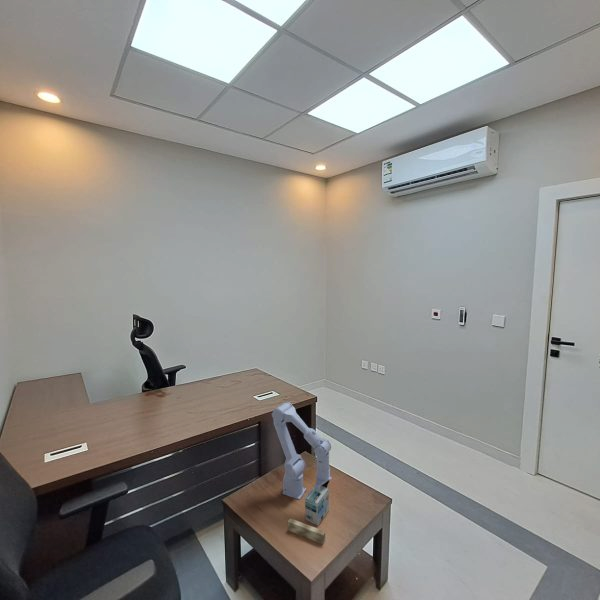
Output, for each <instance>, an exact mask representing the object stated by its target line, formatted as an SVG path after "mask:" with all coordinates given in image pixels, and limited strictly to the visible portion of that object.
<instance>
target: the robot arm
mask: <svg viewBox="0 0 600 600" xmlns="http://www.w3.org/2000/svg"><path fill="white" fill-rule="evenodd" d="M271 417H272V419H273V422H272V423H273V425H274V428H275V431H276V433H277V434H276V435H277V437H278V439H279V442H280V444H281V445H280V446H281V448H282V451H283V454H284V456H285V462H284V465H283V466H284V471H285V472H284V475H283V480H282V494H283V495H285V496H287V497H291V498H293V499H296V500H301V499H302V497H303V495H304V493H305V492H306V490H307V488H306V487H304V470H305V469H306V467H307V466H306V462H305V460H303V458H302V455H301V454H298V453H297V451H296V448H295V445H294V443H293V440H292V438H291V435H290V431H289V430H288V427H287V424H286V423H292V424H293V425H294V426H295V427H296V428H297V429H298V430H299V431H300V432H301V433H302V434H303V438H304V439H305V440H306V442H307V443H308V444H309V445H310V446H311V447H312V448H313V452H314V454H315V456H316V457H315V459H316V477H315V485H314V486H315V489H316V490H320V486H323V487H326V488H328V485H329V483H330V481H332V479H333V478H332V476H330V473H331V466H330V451H331V449H332V444H331V442H330V441H329V440H328V439H325V438H324V437H321V436H320V434H318V432H317V431H316V430H315V429H314V428H311V427H308V425H307V424H306V423H305V421H304V420H303V419H302V418H301V417H300V415H299V414H298V413H297V411H296V408H295V406H293V404H292V403H291V402H289V401H284V403H283V404H281V405H279V406H278V407H276V408H274V409H273V411H272V413H271Z"/></svg>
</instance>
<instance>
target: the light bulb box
mask: <svg viewBox="0 0 600 600" xmlns="http://www.w3.org/2000/svg"><path fill="white" fill-rule="evenodd" d="M304 506H305V507H304V510H305V514H304V516H305V521H308V522H310V523H311V524H314V525H315V526H318V527H319V525H320V524H321V522H322V521H324V518H325V517H326V515H327V514H328V513H329V511H330V489H329V488H328V487H327V488H326V487H323V486H320V490H316V489H315V485H314V486H313V488H311V490H309V492H308V493H307V495H306V496H305V497H304Z"/></svg>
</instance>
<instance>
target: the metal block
mask: <svg viewBox="0 0 600 600" xmlns="http://www.w3.org/2000/svg"><path fill="white" fill-rule="evenodd" d="M287 530H288V531H289V532H292V533H294V534H295V535H298V536H302V537H304V538H306V539H308V540H311V541H314V542H316V543H319V544H321V545H324V544H325V542H326V531H325V530H322V529H320V528H317V527H314V526H312V525H308V524H307V523H304V522H301V521H300V520H299V521H298V520H296V519H293V518H292V517H290V518H289V519H288V521H287Z"/></svg>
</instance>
